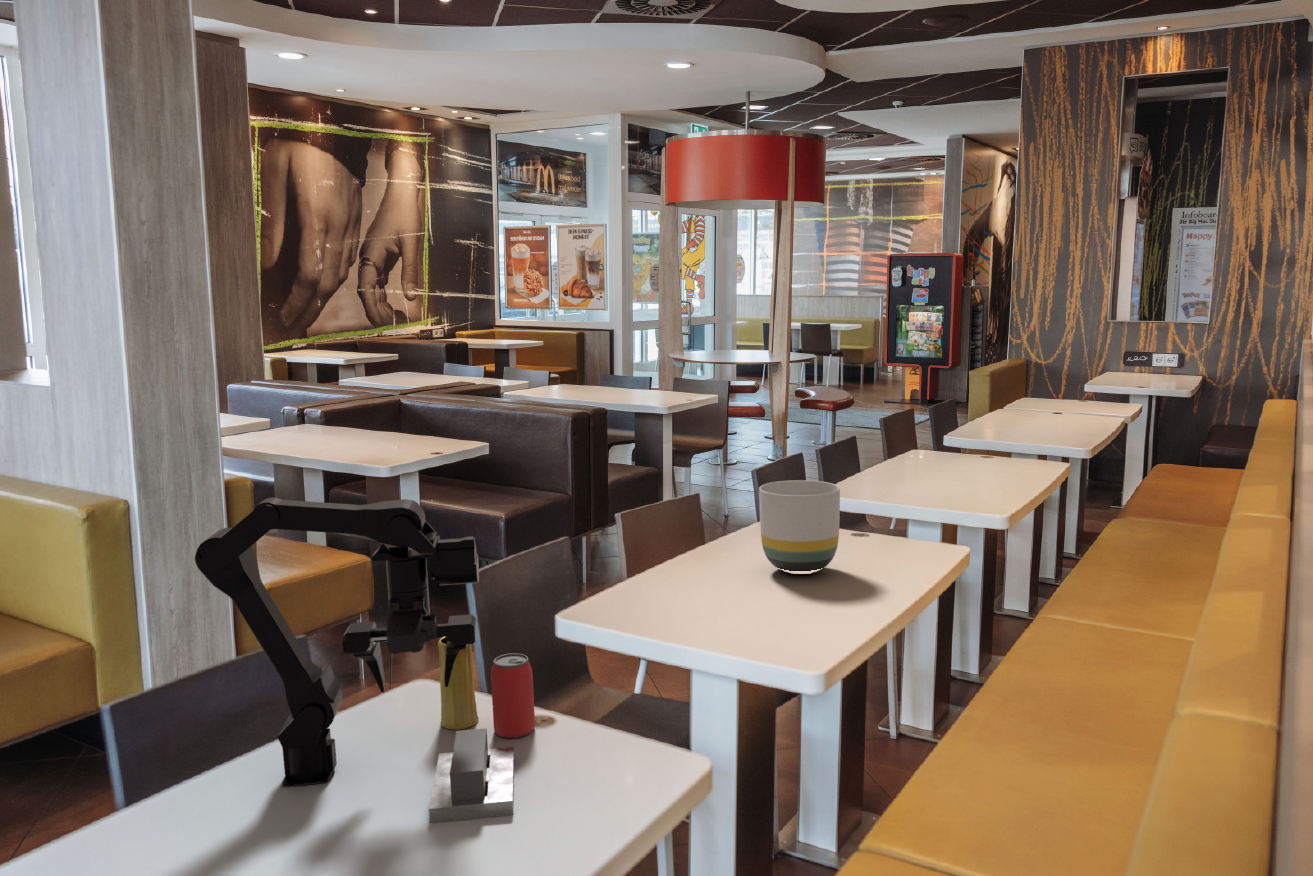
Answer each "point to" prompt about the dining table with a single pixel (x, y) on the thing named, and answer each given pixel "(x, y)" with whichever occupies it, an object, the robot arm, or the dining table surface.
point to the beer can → (512, 695)
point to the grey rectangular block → (469, 765)
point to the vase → (457, 690)
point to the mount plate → (490, 806)
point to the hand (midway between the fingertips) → (415, 688)
